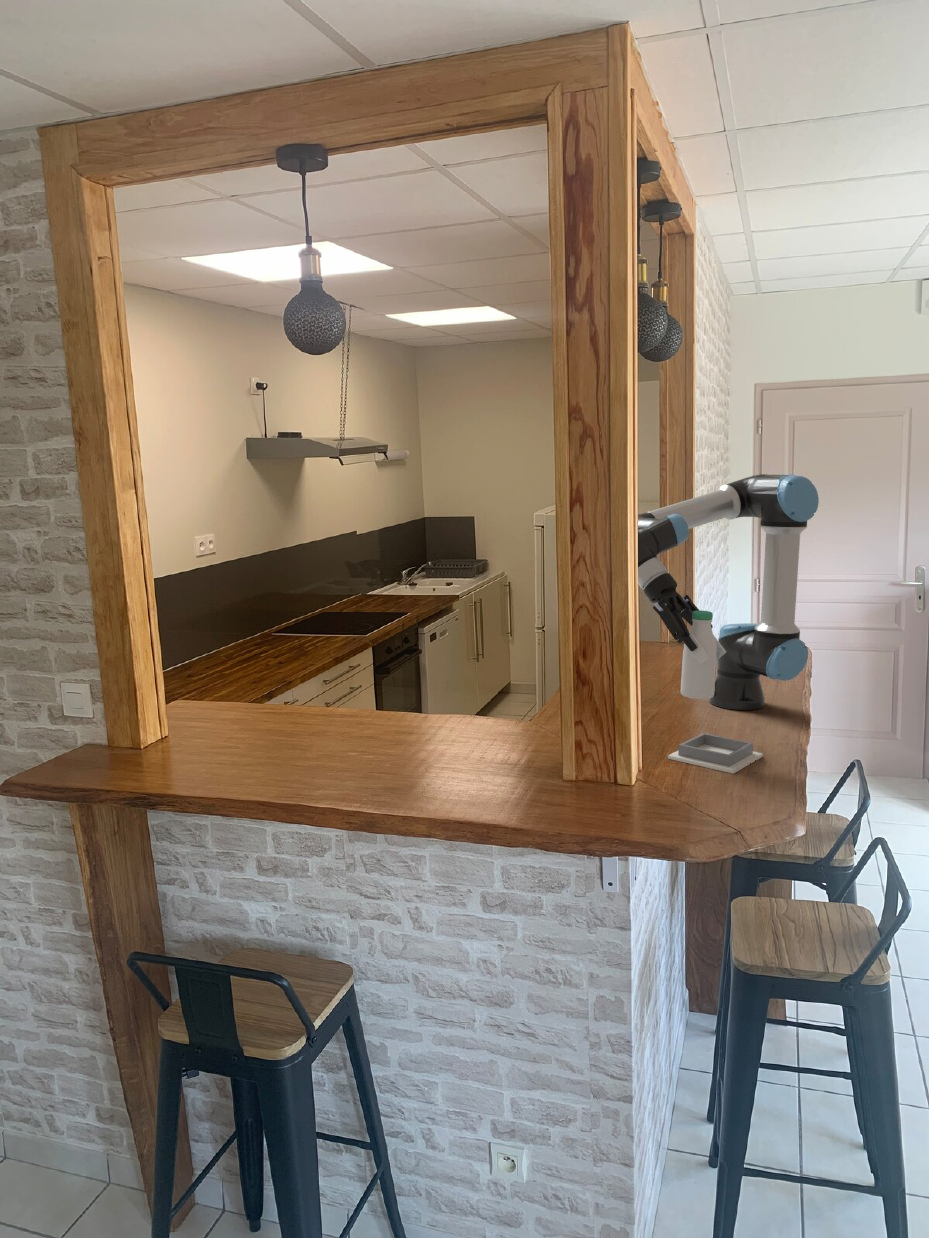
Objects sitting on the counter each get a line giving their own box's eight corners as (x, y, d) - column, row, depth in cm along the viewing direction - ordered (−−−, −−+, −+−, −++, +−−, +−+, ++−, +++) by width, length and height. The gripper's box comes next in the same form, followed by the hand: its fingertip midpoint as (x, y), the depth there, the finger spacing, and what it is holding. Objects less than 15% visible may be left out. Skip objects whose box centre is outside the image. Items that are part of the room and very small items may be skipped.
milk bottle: (714, 701, 213) (720, 615, 210) (680, 698, 215) (685, 613, 212) (713, 692, 221) (719, 609, 217) (680, 690, 223) (685, 608, 219)
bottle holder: (699, 743, 228) (699, 730, 227) (762, 756, 217) (763, 743, 217) (667, 758, 215) (668, 744, 215) (733, 773, 205) (734, 759, 205)
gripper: (666, 587, 231) (722, 660, 224) (622, 595, 216) (680, 674, 209) (687, 567, 227) (744, 642, 219) (643, 575, 212) (703, 655, 204)
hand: (713, 658), depth 214 cm, fingers closed on milk bottle, 7 cm apart
